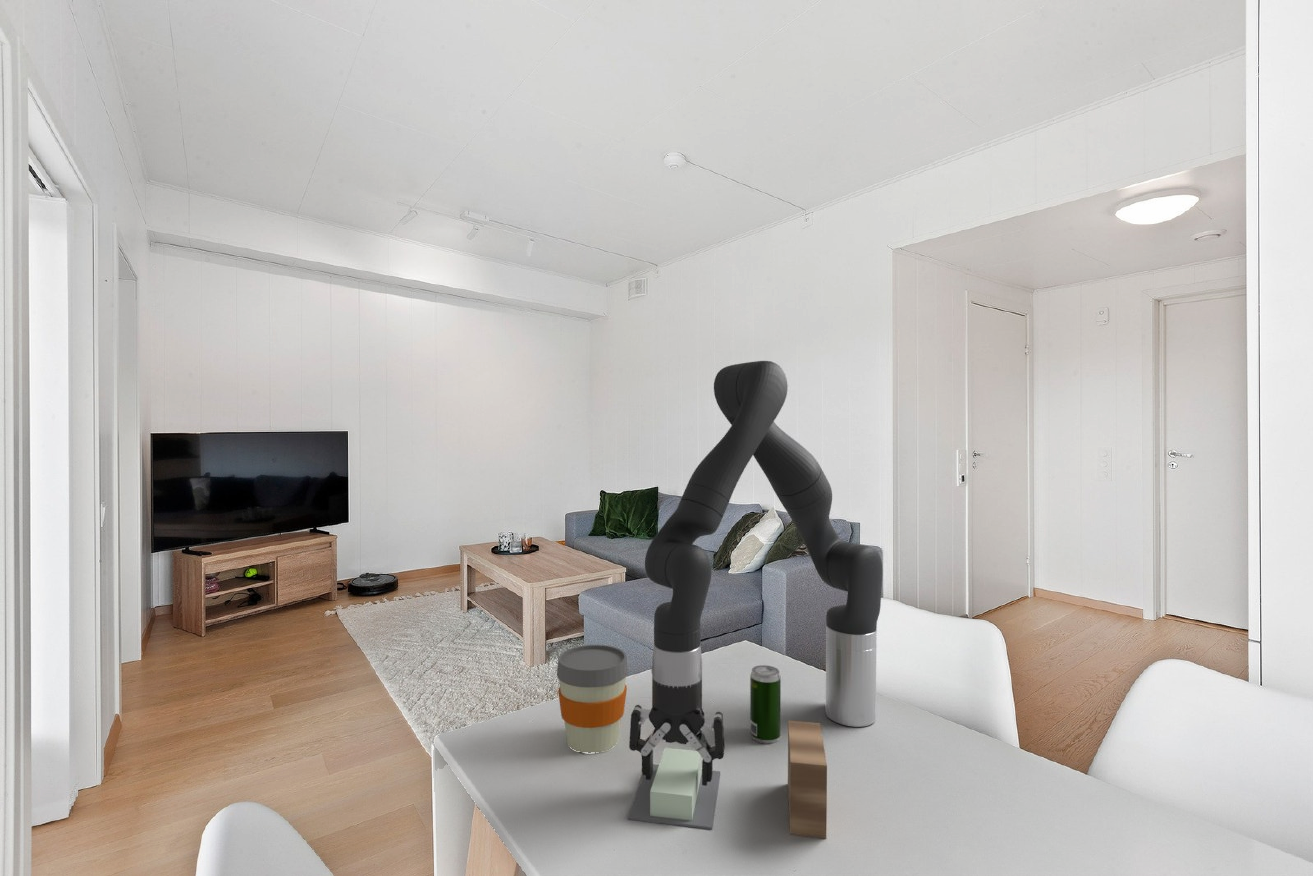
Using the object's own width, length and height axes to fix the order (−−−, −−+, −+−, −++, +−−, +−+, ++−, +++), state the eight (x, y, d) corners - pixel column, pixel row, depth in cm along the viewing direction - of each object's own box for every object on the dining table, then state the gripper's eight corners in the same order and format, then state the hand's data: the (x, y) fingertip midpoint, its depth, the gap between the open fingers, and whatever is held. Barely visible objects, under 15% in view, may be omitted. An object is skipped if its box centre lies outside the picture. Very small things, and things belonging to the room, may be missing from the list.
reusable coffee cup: (543, 751, 106) (542, 664, 106) (579, 718, 118) (578, 640, 117) (608, 766, 101) (608, 676, 101) (639, 731, 113) (639, 649, 113)
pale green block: (664, 769, 100) (664, 747, 100) (701, 773, 99) (701, 751, 99) (650, 815, 88) (650, 791, 88) (692, 820, 87) (692, 796, 87)
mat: (647, 765, 102) (647, 763, 102) (720, 773, 99) (720, 771, 99) (627, 819, 88) (627, 817, 88) (712, 829, 86) (712, 827, 86)
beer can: (764, 747, 107) (764, 679, 107) (743, 734, 112) (744, 669, 111) (786, 739, 110) (787, 672, 110) (765, 726, 115) (766, 662, 114)
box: (787, 783, 97) (788, 720, 96) (819, 787, 96) (820, 723, 95) (790, 834, 85) (790, 762, 84) (826, 838, 84) (827, 765, 84)
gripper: (726, 667, 96) (725, 771, 96) (636, 661, 98) (636, 761, 99) (722, 688, 88) (722, 800, 89) (625, 680, 91) (625, 789, 91)
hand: (676, 779), depth 94 cm, fingers open, 8 cm apart
